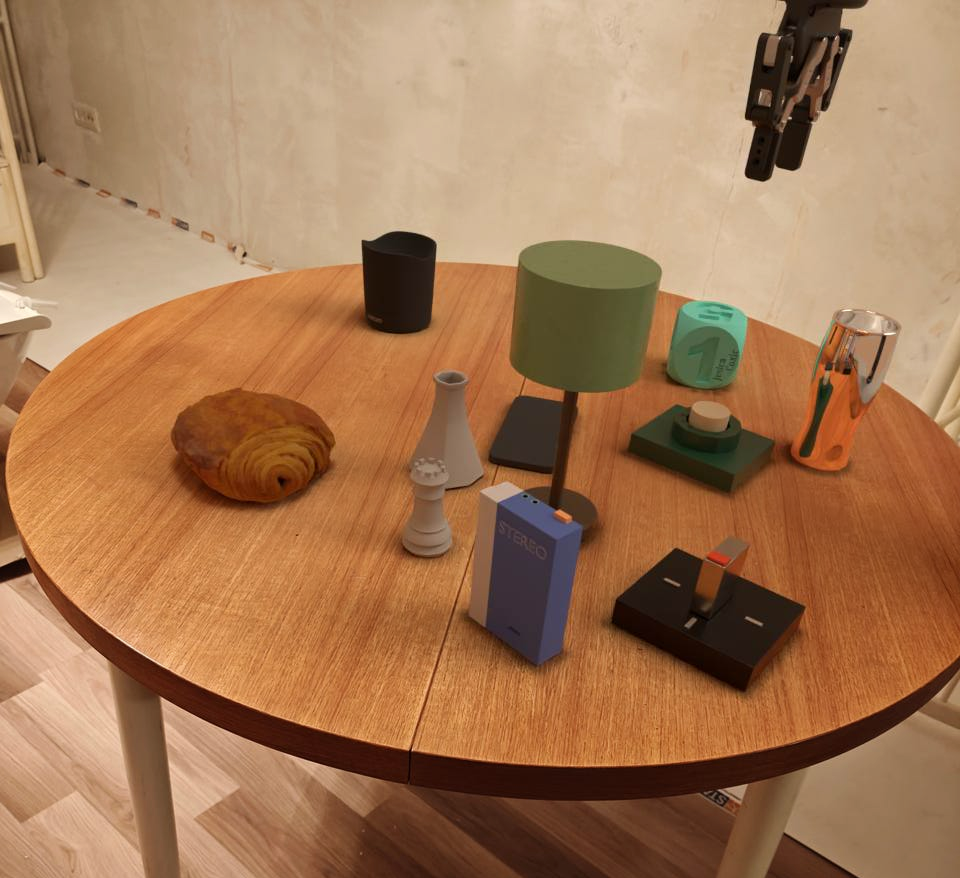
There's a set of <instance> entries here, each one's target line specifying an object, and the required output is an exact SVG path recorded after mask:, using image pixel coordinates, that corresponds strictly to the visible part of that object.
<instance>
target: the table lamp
mask: <svg viewBox="0 0 960 878" xmlns="http://www.w3.org/2000/svg"><path fill="white" fill-rule="evenodd" d="M662 276H663V269H662V267H661V266H660V264H659V263H658V262H656V260H654V259H653V258H651V257H649V256H647V255H646V254H643V253H641V252H639V251H636V250H633V249H630V248H627V247H624V246H620V245H615V244H610V243H604V242H599V241H598V242H597V241H590V240H578V239H576V240H575V239H573V240H572V239H560V240H549V241H543V242H538V243H535V244H531V245H529V246H526V247H525V248H523V249H522V250H521V251H520V252H519V254H518V261H517V270H516V282H515V283H516V284H515V292H514V301H513V313H512V325H511V332H510V333H511V334H510V345H509V355H508V359H509V362H510V365H511V367H512V368H513V369H514V370H515V371H516V372H517V373H518V374H520V375H521V376H522V377H524V378H526V379H527V380H530V381H531V382H534V383H536V384H539V385H542V386H544V387H547V388H551V389H556V390H560V391H563V398H562V402H563V404H562V411H561V419H560V426H559V433H558V440H557V447H556V454H555V461H554V468H553V472H552V477H551V483H550V485H549V486H548V485H545V486H541V485H540V486H533V487H530V488H527V489H525V490H523V491H525V492H527V493H528V494H530V495H532V496H533V497H535V498H536V499H538V500H540V501H541V502H543V503H545V504H546V505H548V506H550V507H551V508H553V509H555V510H556V511H558V510H561V511H563V512H565V513H566V514H568V515H570V516H571V517H572V520H573V521H575V522H576V523H578V524H580V525H581V526H583V530H582V536H581V542H580V544H582V543H583V542H586V541H587V540H588V539H590V538H591V537H592V536H593V534H594V533H595V529H596V525H597V518H598V511H597V508H596V505H595V504H594V503H593V501H591V499H589V498H588V497H587V496H585V495H584V494H581V493H580V492H578V491H575V490H572V489H569V488H565V485H566V479H567V472H568V464H569V458H570V451H571V446H572V438H573V432H574V427H575V426H574V425H575V423H574V420H575V413H576V406H577V407H578V400H579V394H580V393H584V394H585V393H586V394H600V393H609V392H617V391H620V390H623V389H626V388H629V387H631V386H633V385H635V384H636V383H637V382H638V381H639V380H640V379H641V377H642V376H643V371H644V366H645V362H646V356H647V352H648V346H649V341H650V336H651V331H652V327H653V326H652V325H653V320H654V316H655V311H656V307H657V306H656V305H657V301H658V297H659V296H658V295H659V291H660V285H661V280H662ZM575 421H576V420H575Z"/></svg>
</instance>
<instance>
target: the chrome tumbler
mask: <svg viewBox="0 0 960 878" xmlns="http://www.w3.org/2000/svg"><path fill="white" fill-rule="evenodd" d="M830 319H831V320H830V322H829V325H828V326H827V329H826V331H825V334H824V336H823V339H822V341H821V343H820V346H819V349H818V352H817V353H816V358H815V362H814V365H813V369H812V374H811V378H810V384H809V385H810V386H809V391H808V392H809V393H808V400H807V405H806V411H805V416H804V420H803V423H802V425H801V428H800V430H799V431H798V434H797V436H796V437H795V439H794V440H793V442H792V445H791V447H790V449H789V451H790V454H791V456H792V458H793V459H794V460H795V461H796V462H798V463H800V464H801V465H803V466H806V467H808V468H810V469H811V468H812V469H814V470H819V471H826V472H829V471H830V472H833V471H840V470H842V469H844V468H845V467H846V466H847V464H848V462H849V456H850V452H851V451H850V450H851V445H852V440H853V437H854V435H855V433H856V430H857V428H858V426H859V424H860V423H861V421H862V419H863V417H864V416H865V414H867V413H866V412H867V411H868V409H869V408H870V406H871V405H872V402H873V401H874V400H875V398H876V396H877V394H878V392H879V390H880V389H881V387H882V385H883V383H884V380H885V378H886V376H887V373H888V371H889V369H890V366H891V363H892V361H893V357H894V353H895V350H896V347H897V344H898V340H899V337H900V333H901V331H902V325H901V324H900V322H898V320H896V319H894V318H893V317H890V316H888V315H886V314H883V313H880V312H876V311H873V310H869V309H861V308H843V309H838V310H836V311H834V312H833V313H832V317H831V318H830Z"/></svg>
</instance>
